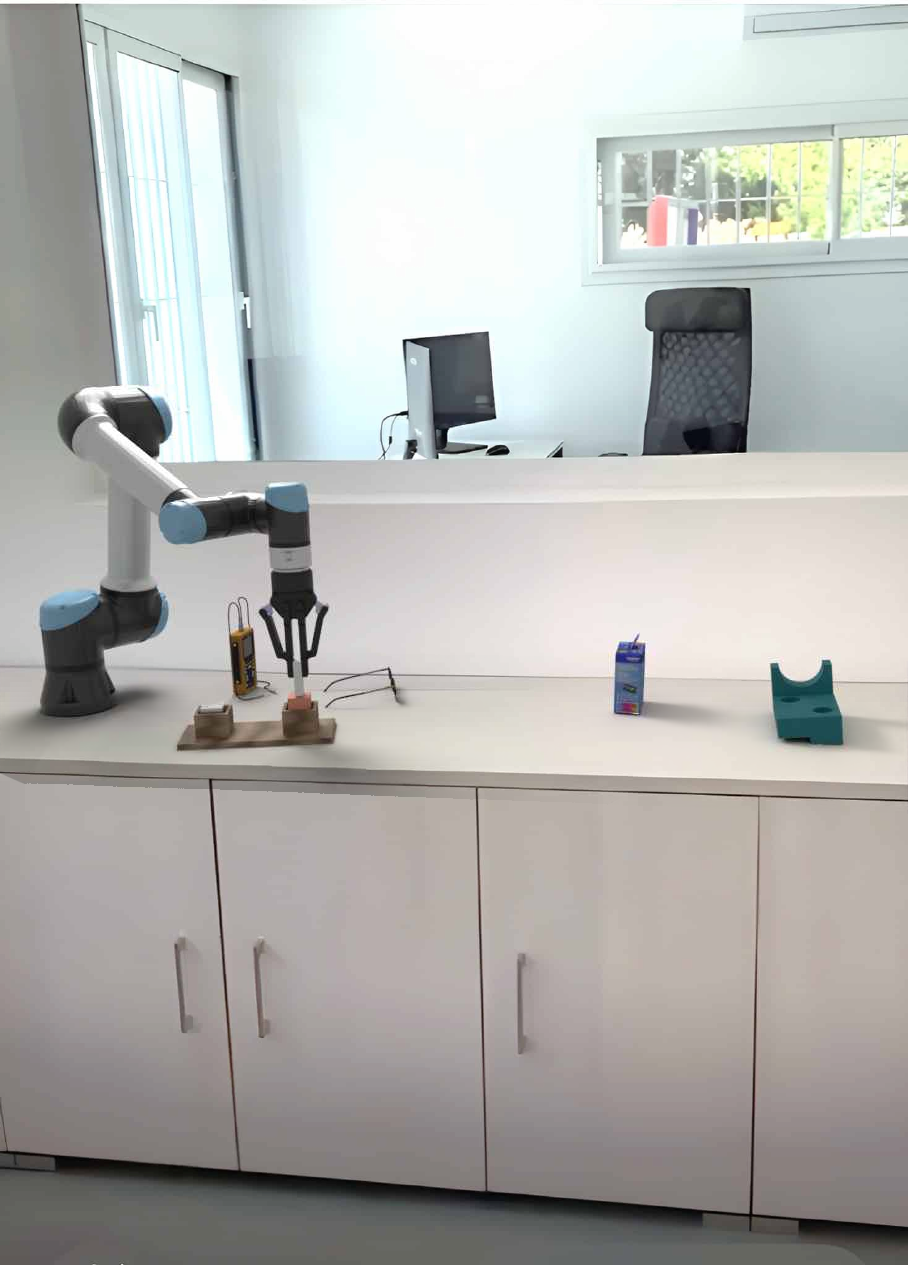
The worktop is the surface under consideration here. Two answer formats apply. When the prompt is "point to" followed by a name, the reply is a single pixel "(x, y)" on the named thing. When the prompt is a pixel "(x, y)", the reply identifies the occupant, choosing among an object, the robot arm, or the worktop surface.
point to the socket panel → (257, 730)
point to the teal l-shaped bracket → (807, 707)
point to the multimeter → (243, 658)
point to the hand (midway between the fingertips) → (299, 694)
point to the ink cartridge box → (629, 677)
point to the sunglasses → (368, 691)
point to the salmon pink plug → (299, 701)
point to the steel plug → (213, 708)
